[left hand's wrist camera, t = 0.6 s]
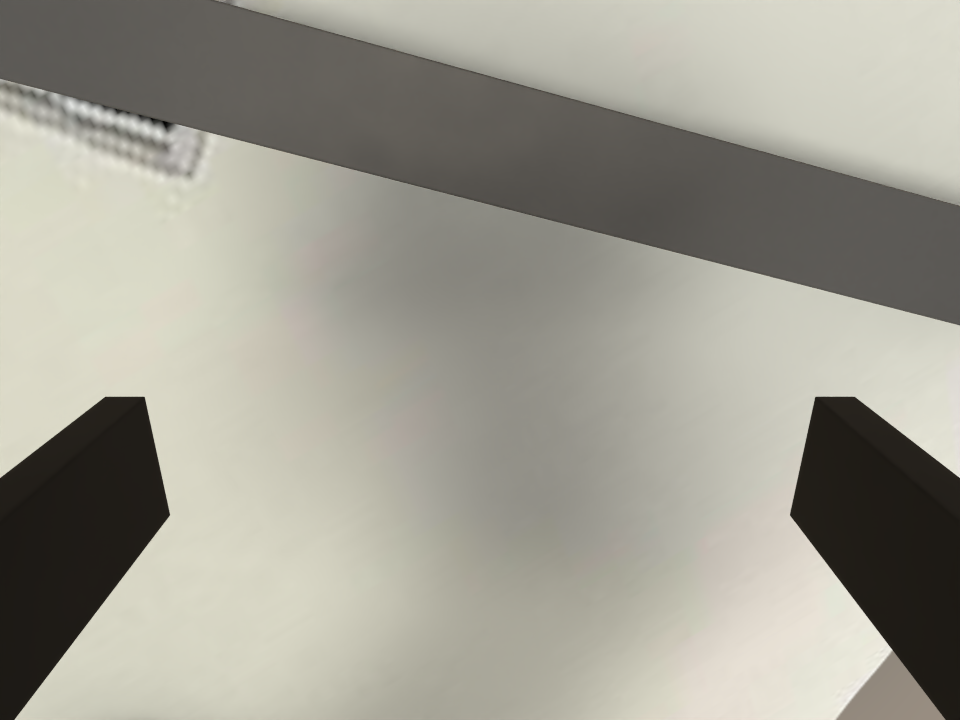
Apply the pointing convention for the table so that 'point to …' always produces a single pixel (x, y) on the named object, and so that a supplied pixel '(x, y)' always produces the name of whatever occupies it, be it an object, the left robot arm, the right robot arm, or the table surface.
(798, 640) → the table surface
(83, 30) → the beam
